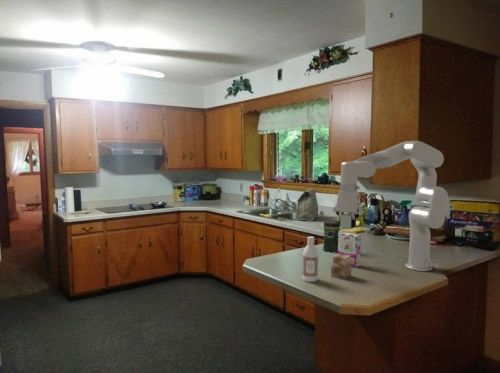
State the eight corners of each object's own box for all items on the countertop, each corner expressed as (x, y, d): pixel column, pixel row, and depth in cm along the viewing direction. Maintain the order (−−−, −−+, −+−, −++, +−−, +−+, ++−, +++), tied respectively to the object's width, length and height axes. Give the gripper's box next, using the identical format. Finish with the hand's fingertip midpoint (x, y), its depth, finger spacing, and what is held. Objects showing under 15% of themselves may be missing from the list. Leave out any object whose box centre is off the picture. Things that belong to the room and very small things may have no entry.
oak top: (350, 266, 175) (350, 255, 175) (344, 269, 171) (345, 258, 170) (338, 263, 179) (338, 253, 179) (332, 266, 175) (333, 256, 174)
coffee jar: (340, 249, 224) (341, 219, 222) (337, 253, 217) (338, 221, 215) (324, 248, 228) (325, 218, 226) (321, 251, 221) (322, 220, 219)
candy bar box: (360, 265, 192) (361, 234, 190) (355, 267, 188) (356, 236, 187) (341, 261, 200) (342, 231, 198) (336, 263, 196) (337, 232, 195)
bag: (301, 216, 342) (302, 187, 340) (319, 217, 336) (319, 188, 334) (295, 220, 321) (295, 189, 319) (313, 222, 315) (314, 190, 313)
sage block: (354, 227, 174) (354, 214, 173) (350, 228, 170) (350, 216, 169) (344, 225, 177) (344, 213, 176) (340, 227, 173) (340, 214, 172)
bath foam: (302, 281, 167) (302, 238, 166) (302, 276, 174) (303, 235, 172) (317, 282, 166) (318, 239, 164) (317, 277, 173) (318, 235, 171)
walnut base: (351, 276, 176) (351, 265, 176) (344, 280, 171) (345, 269, 170) (337, 273, 180) (337, 263, 180) (331, 276, 175) (331, 266, 175)
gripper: (369, 188, 170) (368, 227, 171) (335, 186, 180) (334, 223, 182) (363, 190, 164) (361, 230, 165) (328, 187, 174) (327, 225, 176)
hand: (347, 226), depth 173 cm, fingers closed on sage block, 5 cm apart
